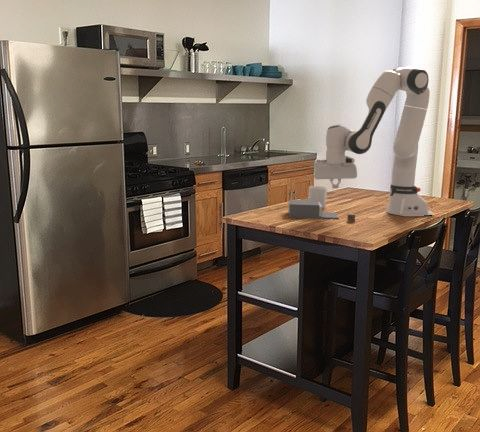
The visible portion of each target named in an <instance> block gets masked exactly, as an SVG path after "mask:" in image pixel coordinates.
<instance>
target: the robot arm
mask: <svg viewBox="0 0 480 432" xmlns="http://www.w3.org/2000/svg"><path fill="white" fill-rule="evenodd" d="M399 90H400V91H404V92H405V93H406V98H405V101H404V105H403V108H402V113H401V115H400V121H399V124H398V128H397V131H396V135H395V138H394V142H393V149H392V150H393V153H394V156H393V165H392V173H391V184H390V187H389V200H388V205H387V208H386V210H385V212H386V213H387V214H391V215H395V216H401V217H425V216H424V215H433V212H432V211H431V210H429V204H428V201H427V200H426V199H424V198H423V197H422V196H421V195H420V194H419V193H420V192H421V191H422V190H421V187H417V186H416V185H415V180H416V169H417V163H418V153H419V142H420V139H421V136H422V135H421V134H422V131H423V127H424V123H425V121H426V120H425V119H426V115H427V111H428V107H429V103H430V102H429V101H430V92H431V91H430V88H429V74H428V72H427V71H426V70H425V69H423V68H420V67H414V66H404V67H403V66H398V67H396V68H393V69H392V70H385V71H383V72H382V74H381V75H380V76H379V77H378V78H377V79H376V80H375V82H374V84H373V85H372V87H371V89H370V90H369V92H368V94H367V96H366V101H365V102H366V103H365V104H366V106H367V108H368V111H367V112H368V114H367V115H366V117H365V120H364V121H363V123H362V125H361V127H360V128H359V130H357V131H355V130H352V129H350V128H348V127H346V126H345V125H344V124H335V125H330V126H329V127H327V129H326V135H325V137H326V138H325V145H326V152H325V159H317V160H315V161H314V162H313V169H314V172H313V177H314V179H315V180H329V182H330V184H331V187H332V188H331V189H339V188H340V187H339V185H340V184H341V181H342V180H344V179H345V180H346V179H349V180H350V179H352V180H353V179H357V177H358V169H357V166H356V164H355V159H354V158H353V157H351V156H347V155H346V152H347V151H348V152H350V153H351V152H352V153H354V154H356V155H363V154H365V153H367V152H368V151H369V150H370V148H371V147H372V142H373V141H372V140H373V136H374V133H375V132H376V130H377V128H378V126H379V124H380V122H381V120H382V118H383V117H384V114H385V112H386V111H387V109H388V107H389V105H390V103H391V102H392V101H393V100H394V97H395V96H396V93H397V92H399ZM334 180H337V183H334Z"/></svg>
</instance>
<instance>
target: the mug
mask: <svg viewBox="0 0 480 432" xmlns="http://www.w3.org/2000/svg"><path fill="white" fill-rule="evenodd" d="M327 193H328V189H327V187H325V186H316V185H313V186H312V185H311V186H308V197H307V200H317V201H318V202H320V204H321V206H322V211H323V210H324V209H325V208H326V200H327V195H328V194H327Z"/></svg>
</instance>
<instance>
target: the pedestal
mask: <svg viewBox="0 0 480 432" xmlns="http://www.w3.org/2000/svg"><path fill="white" fill-rule="evenodd" d="M346 220H347V222H348V223H355V222H356V213H349V212H348V213H347V218H346Z"/></svg>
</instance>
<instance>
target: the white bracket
mask: <svg viewBox="0 0 480 432" xmlns="http://www.w3.org/2000/svg"><path fill="white" fill-rule="evenodd" d="M318 203H319V216H322V212H323V210H322V206H321V204H320V202H318Z"/></svg>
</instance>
